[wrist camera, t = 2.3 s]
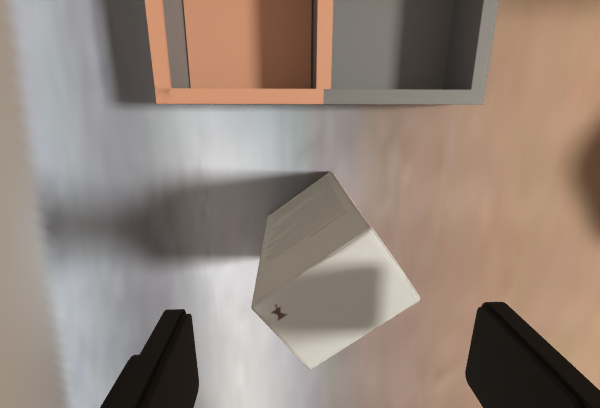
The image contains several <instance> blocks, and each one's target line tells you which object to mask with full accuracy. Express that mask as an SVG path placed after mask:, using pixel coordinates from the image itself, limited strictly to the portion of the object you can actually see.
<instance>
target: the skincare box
mask: <svg viewBox="0 0 600 408" xmlns="http://www.w3.org/2000/svg"><path fill="white" fill-rule="evenodd" d="M418 301H420V297H419V295H418V293H417V291H416V290H415V288H414V287H413V285H412V284H411V282H410V281H409V280H408V278H407V277H406V275H405V274H404V272H403V271H402V269H401V268H400V266H399V265H398V263H397V262H396V260H395V259H394V257H393V256H392V255H391V253H390V252H389V250H388V249H387V248H386V246H385V245H384V243H383V242H382V241H381V239H380V238H379V236H378V235H377V234H376V232H375V231H374V229H373V228H372V227H371V225H370V224H369V223H368V222H367V220H366V219H365V218H364V216H363V215H362V213H361V212H360V210H359V209H358V207H357V206H356V204H355V203H354V202H353V200H352V199H351V197H350V196H349V194H348V193H347V192H346V190H345V189H344V187H343V186H342V184H341V183H340V182H339V180H338V179H337V178H336V176H335V175H334V173H332V172H329V173H327V174H326V175H325V176H323V177H322V178H320V179H319V180H318V181H316V182H315V183H313V184H312V185H310V186H309V187H308V188H306V189H305V190H304V191H302V192H301V193H299V194H298V195H297V196H295V197H294V198H292V199H291V200H290V201H288V202H287V203H285V204H284V205H283V206H281V207H280V208H278V209H277V210H276V211H274V212H273V213H272V214H270V215H269V216H268V217H267V222H266V227H265V233H264V239H263V244H262V250H261V256H260V262H259V267H258V273H257V279H256V284H255V290H254V295H253V301H252V310H253V311H254V312H255V313H256V314H257V315H258V316H259V317H260V318H261V319H262V320H263V321H264V322H265V323H266V324H267V325H268V326H269V327H270V328H271V329H272V330H273V331H274V332H275V333H276V335H277V336H278V337H279V338H280V339H281V340H282V341H283V342H284V343H285V344H286V345H287V346H288V347H289V349H290V350H291V351H292V352H293V353H294V354H295V355H296V356H297V357H298V358H299V359H300V361H301V362H302V363H303V364H304V365H305V366H306V367H307V368H308V369H313V368H314V367H316V366H317V365H319V364H320V363H322V362H323V361H325V360H326V359H328V358H330V357H331V356H333V355H334V354H336V353H338V352H339V351H341V350H342V349H344V348H345V347H347V346H348V345H350V344H352V343H353V342H355V341H356V340H358V339H360V338H361V337H363V336H364V335H366V334H367V333H369V332H370V331H372V330H374V329H375V328H377V327H378V326H380V325H381V324H383V323H385V322H386V321H388V320H389V319H391V318H393V317H394V316H396V315H397V314H399V313H400V312H402V311H404V310H405V309H407V308H408V307H410V306H412V305H413V304H415V303H417V302H418Z"/></svg>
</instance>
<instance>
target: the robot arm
mask: <svg viewBox="0 0 600 408" xmlns="http://www.w3.org/2000/svg"><path fill="white" fill-rule="evenodd" d="M465 374H466V380H467V383H468V384H469V386H470V388H471V389H472V391H473V392H474V394H475V395H476V397H477V399H478V400H479V402H480V403H481V405H482V406H483V408H600V390H599V389H598V388H597V387H595V386H594V385H593V384H592V383H591V382H590V381H589V380H588V379H587V378H586V377H585V376H584V375H582V374H581V373H580V372H579V371H578V370H577V369H576V368H575V367H574V366H573V365H572V364H571V363H570V362H568V361H567V360H566V359H565V358H564V357H563V356H562V355H561V354H560V353H559V352H558V351H557V350H556V349H554V348H553V347H552V346H551V345H550V344H549V343H548V342H547V341H546V340H545V339H544V338H543V337H541V336H540V335H539V334H538V333H537V332H536V331H535V330H534V329H533V328H532V327H531V326H530V325H529V324H527V323H526V322H525V321H524V320H523V319H522V318H521V317H520V316H519V315H518V314H517V313H516V312H515V311H513V310H512V309H511V308H510V307H509V306H508V305H507V304H506V303H504V302H485V303H483V305H482V307H479V308H478V310H477V314H476V319H475V324H474V330H473V335H472V340H471V345H470V350H469V356H468V361H467V366H466V372H465ZM198 388H199V377H198V368H197V359H196V350H195V342H194V333H193V324H192V316H191V314H186V312H185V310H184V309H176V310H165V311H164V313H163V314H162V316H161V318H160V320H159V322H158V323H157V325H156V327H155V329H154V330H153V332H152V334H151V336H150V337H149V339H148V341H147V343H146V344H145V346H144V348H143V350H142V352H141V353H140V355H133V356H132V357H131V358H130V359H129V360H128V362H127V364H126V365H125V367H124V369H123V370H122V372H121V374H120V375H119V377H118V379H117V380H116V382H115V384H114V385H113V387H112V389H111V390H110V392H109V394H108V395H107V397H106V399H105V400H104V402H103V404H102V405H101V407H100V408H193V407H194V404H195V400H196V397H197V393H198Z"/></svg>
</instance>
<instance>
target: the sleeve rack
mask: <svg viewBox="0 0 600 408" xmlns="http://www.w3.org/2000/svg"><path fill="white" fill-rule="evenodd" d="M498 2H499V0H145V7H146V16H147V25H148V34H149V42H150V51H151V60H152V69H153V77H154V86H155V95H156V103H157V104H355V105H483V101H484V95H485V88H486V82H487V75H488V68H489V62H490V55H491V49H492V42H493V35H494V29H495V22H496V16H497V9H498Z"/></svg>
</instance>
